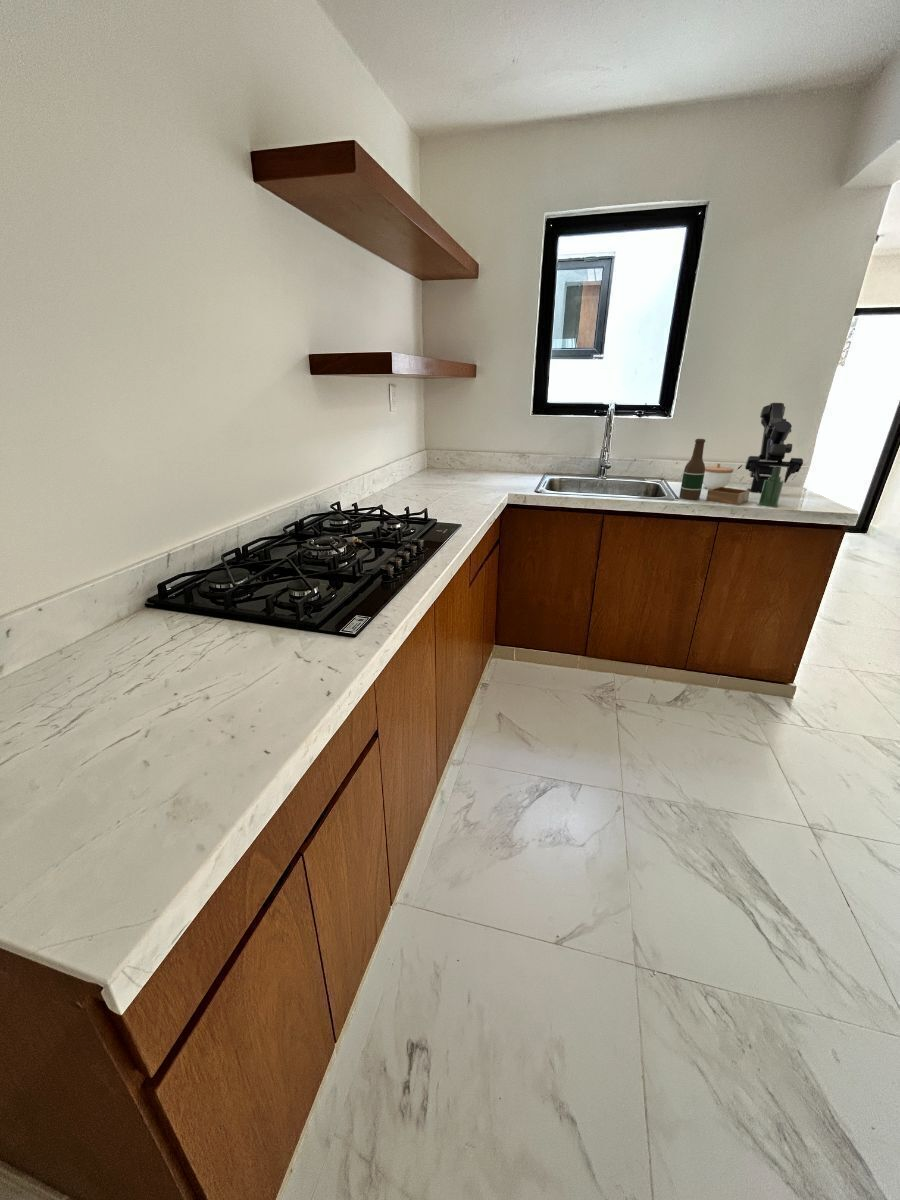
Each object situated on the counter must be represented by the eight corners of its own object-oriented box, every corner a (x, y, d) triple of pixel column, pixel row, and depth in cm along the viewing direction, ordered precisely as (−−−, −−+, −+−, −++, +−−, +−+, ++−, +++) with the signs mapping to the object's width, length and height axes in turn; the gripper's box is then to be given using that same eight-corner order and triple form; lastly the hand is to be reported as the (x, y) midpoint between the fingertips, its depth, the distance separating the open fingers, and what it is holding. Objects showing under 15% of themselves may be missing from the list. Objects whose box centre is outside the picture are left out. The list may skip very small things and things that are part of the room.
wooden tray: (717, 497, 211) (719, 486, 209) (747, 501, 203) (749, 490, 201) (705, 501, 204) (708, 490, 202) (736, 505, 196) (738, 494, 194)
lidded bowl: (734, 490, 225) (740, 465, 221) (706, 490, 225) (711, 465, 221) (721, 485, 237) (726, 461, 233) (694, 485, 237) (698, 461, 233)
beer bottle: (698, 498, 209) (710, 438, 200) (700, 501, 203) (712, 440, 193) (678, 496, 212) (689, 437, 202) (679, 500, 205) (690, 439, 196)
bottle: (754, 504, 198) (763, 466, 192) (767, 503, 200) (777, 465, 194) (768, 508, 192) (778, 468, 186) (781, 507, 194) (791, 467, 188)
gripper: (753, 434, 197) (749, 467, 193) (809, 436, 190) (806, 470, 186) (746, 453, 207) (743, 484, 202) (799, 455, 200) (797, 487, 195)
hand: (771, 481), depth 196 cm, fingers open, 9 cm apart
